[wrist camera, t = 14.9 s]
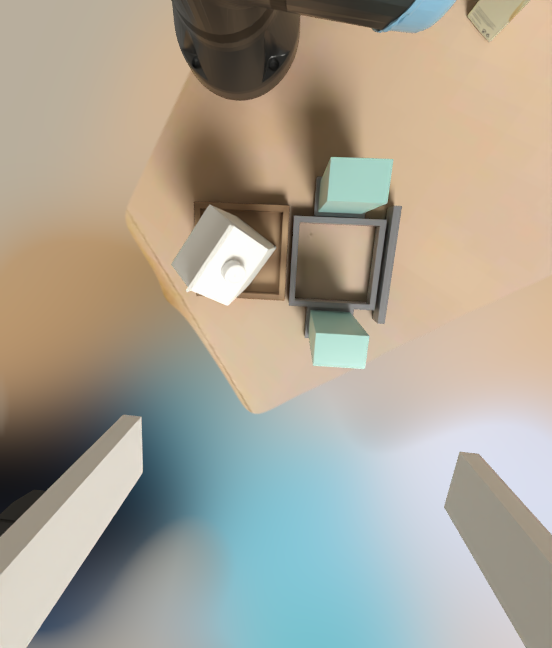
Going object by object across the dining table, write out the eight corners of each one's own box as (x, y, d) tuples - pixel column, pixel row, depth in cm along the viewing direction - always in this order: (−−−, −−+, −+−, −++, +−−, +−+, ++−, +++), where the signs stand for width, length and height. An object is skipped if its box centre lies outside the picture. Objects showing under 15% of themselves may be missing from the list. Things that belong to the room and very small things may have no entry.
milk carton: (210, 256, 45) (152, 267, 27) (237, 216, 43) (196, 197, 25) (248, 285, 46) (218, 315, 27) (277, 247, 44) (265, 251, 26)
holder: (296, 177, 42) (297, 150, 29) (398, 181, 41) (443, 155, 29) (287, 334, 48) (284, 367, 36) (375, 340, 47) (405, 375, 35)
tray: (199, 203, 44) (194, 201, 41) (289, 207, 43) (289, 205, 41) (201, 292, 47) (196, 295, 45) (284, 297, 47) (284, 300, 44)
